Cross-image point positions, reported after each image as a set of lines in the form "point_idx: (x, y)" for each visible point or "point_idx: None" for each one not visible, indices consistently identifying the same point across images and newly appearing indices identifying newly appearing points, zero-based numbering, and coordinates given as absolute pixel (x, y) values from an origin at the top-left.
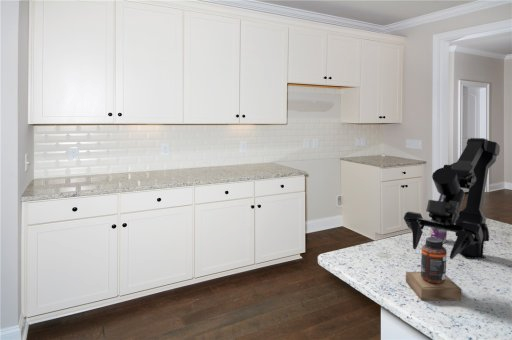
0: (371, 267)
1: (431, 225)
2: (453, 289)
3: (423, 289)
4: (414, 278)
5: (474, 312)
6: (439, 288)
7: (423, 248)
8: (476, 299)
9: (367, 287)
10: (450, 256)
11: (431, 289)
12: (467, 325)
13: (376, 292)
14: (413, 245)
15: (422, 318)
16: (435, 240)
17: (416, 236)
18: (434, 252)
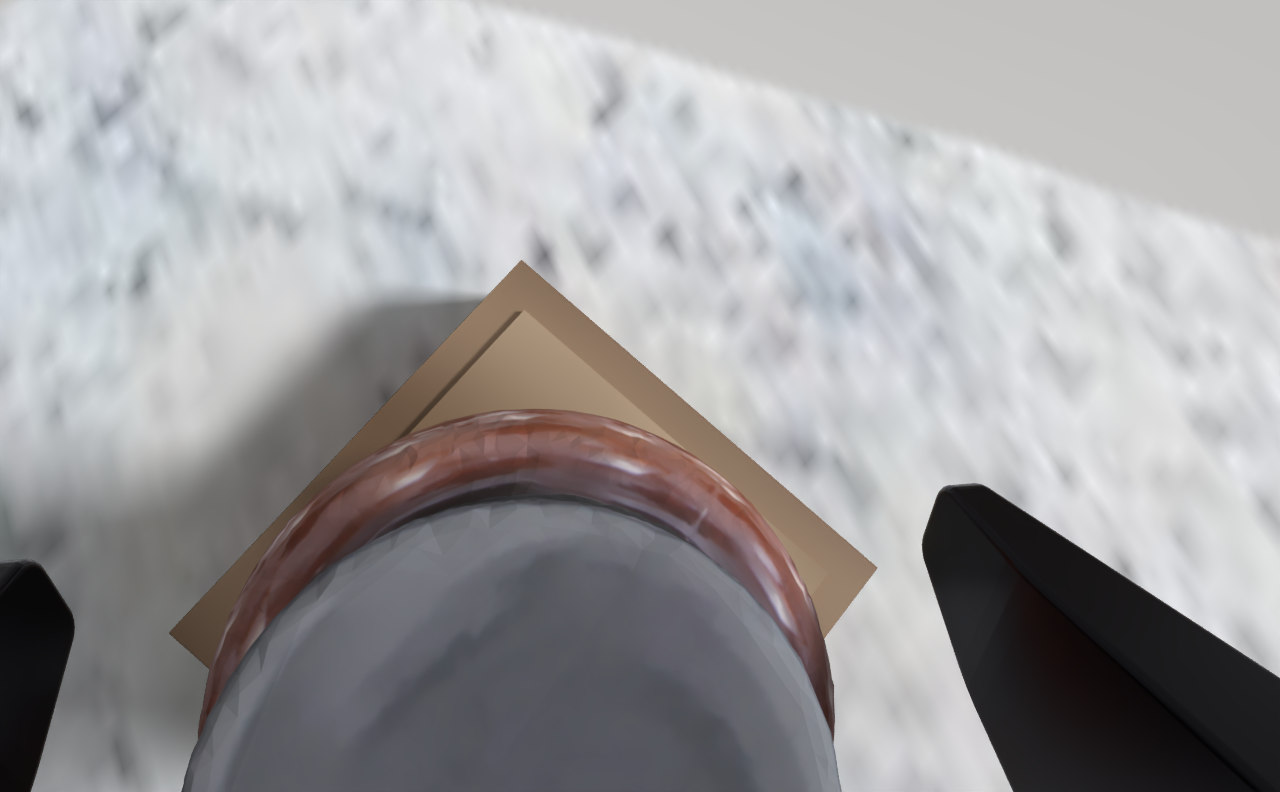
0: (1263, 593)
1: None
2: (248, 551)
3: (507, 278)
4: (712, 465)
5: (47, 460)
6: (380, 435)
7: (723, 485)
8: (108, 774)
9: (995, 150)
10: (6, 565)
11: (442, 347)
12: (34, 175)
13: (884, 125)
14: (1006, 511)
15: (374, 7)
16: (423, 727)
17: (1207, 734)
18: (399, 443)
